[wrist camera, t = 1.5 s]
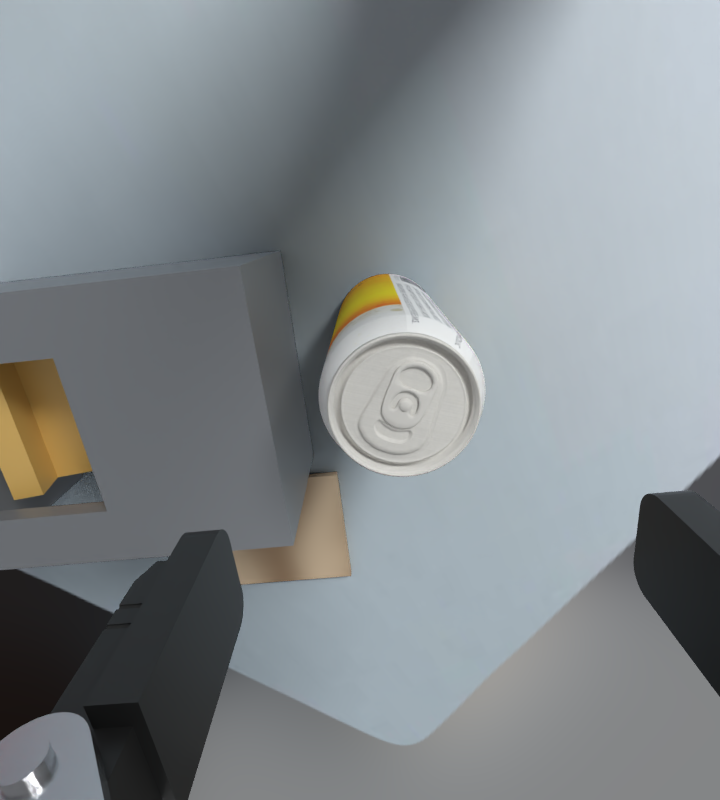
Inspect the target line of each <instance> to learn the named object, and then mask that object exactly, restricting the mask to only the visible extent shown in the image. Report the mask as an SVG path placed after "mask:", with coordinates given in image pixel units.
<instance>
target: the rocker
mask: <svg viewBox="0 0 720 800" xmlns="http://www.w3.org/2000/svg"><path fill="white" fill-rule="evenodd" d="M0 468H1V471H2V473H3V475H4V478H5V480H6V482H7V485H8V487H9V489H10V492H11V494H12V496H13V499H14V500H18V499H24V498H29V497H34V496H40V495H44V494H45V492H46V491H47V490H48V489H49V488H50V486H51V485H52V484H53V483H54V482H55V480H56V479H57V478H58V477H63V476H68V475H74V474H79V473H85V472H90V471H92V468H91V465H90V462H89V459H88V456H87V454H86V451H85V448H84V445H83V442H82V439H81V437H80V434H79V431H78V428H77V425H76V422H75V420H74V417H73V414H72V411H71V408H70V405H69V403H68V400H67V397H66V394H65V391H64V388H63V386H62V383H61V380H60V377H59V374H58V371H57V369H56V366H55V363H54V360H53V358H51V359H42V360H33V361H23V362H14V363H4V364H0Z"/></svg>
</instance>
